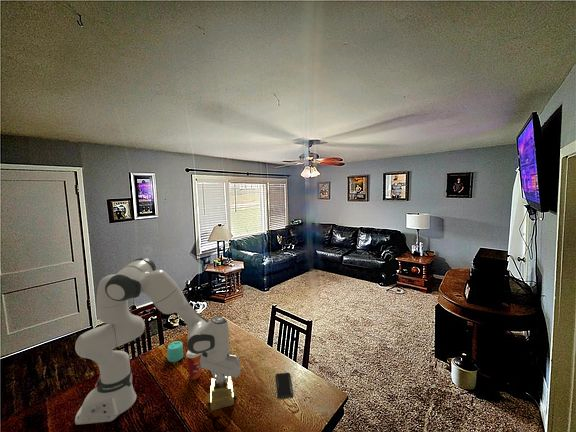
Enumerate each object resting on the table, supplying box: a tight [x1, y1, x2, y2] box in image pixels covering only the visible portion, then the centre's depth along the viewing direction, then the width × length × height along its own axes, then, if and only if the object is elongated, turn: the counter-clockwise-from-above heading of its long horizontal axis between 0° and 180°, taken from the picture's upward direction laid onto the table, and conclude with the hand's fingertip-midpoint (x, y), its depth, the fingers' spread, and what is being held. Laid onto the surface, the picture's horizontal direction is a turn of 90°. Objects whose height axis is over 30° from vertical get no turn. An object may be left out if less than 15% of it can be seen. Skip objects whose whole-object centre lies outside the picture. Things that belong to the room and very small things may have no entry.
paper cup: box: [185, 349, 202, 380], centre depth 131 cm, size 8×8×14 cm
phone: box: [274, 372, 294, 399], centre depth 125 cm, size 8×1×15 cm
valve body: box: [206, 376, 237, 411], centre depth 116 cm, size 13×10×8 cm
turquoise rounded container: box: [166, 340, 184, 363], centre depth 146 cm, size 8×8×8 cm
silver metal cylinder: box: [216, 372, 226, 389], centre depth 116 cm, size 4×4×9 cm
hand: (221, 380), depth 116 cm, fingers closed on silver metal cylinder, 4 cm apart
